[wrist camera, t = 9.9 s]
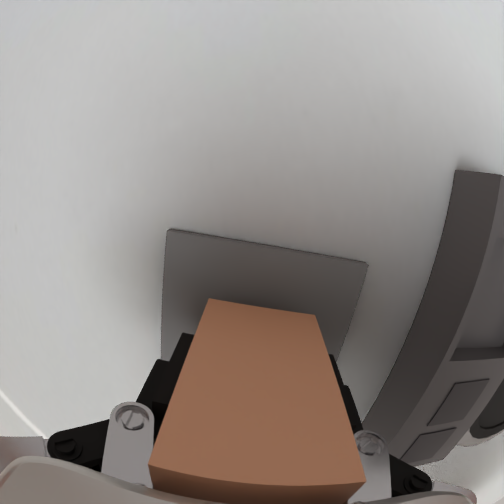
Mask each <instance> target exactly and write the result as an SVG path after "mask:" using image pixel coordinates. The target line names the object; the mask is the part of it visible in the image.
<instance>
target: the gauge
mask: <svg viewBox="0 0 504 504" xmlns="http://www.w3.org/2000/svg"><path fill="white" fill-rule="evenodd" d="M503 431H504V379H503V380H502V382H501V384H500V385H499V387H498V388H497V390H496V392H495V393H494V395H493V396H492V398H491V399H490V401H489V402H488V404H487V405H486V407H485V408H484V409H483V411H482V412H481V414H480V415H479V416H478V418H477V419H476V420H475V422H474V423H473V424H472V426H471V427H470V428H469V430H468V431H467V432H466V433H465V435H464V436H463V437H462V438H461V439H460V441H459V442H458V443H457V445H460V446H464V447H467V446H474V445H478V444H480V443H483V442H485V441H488V440H489V439H491V438H493V437H495V436H496V435H498V434H500V433H501V432H503Z"/></svg>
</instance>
